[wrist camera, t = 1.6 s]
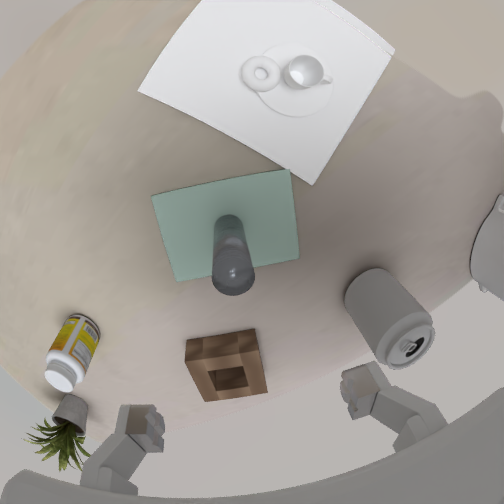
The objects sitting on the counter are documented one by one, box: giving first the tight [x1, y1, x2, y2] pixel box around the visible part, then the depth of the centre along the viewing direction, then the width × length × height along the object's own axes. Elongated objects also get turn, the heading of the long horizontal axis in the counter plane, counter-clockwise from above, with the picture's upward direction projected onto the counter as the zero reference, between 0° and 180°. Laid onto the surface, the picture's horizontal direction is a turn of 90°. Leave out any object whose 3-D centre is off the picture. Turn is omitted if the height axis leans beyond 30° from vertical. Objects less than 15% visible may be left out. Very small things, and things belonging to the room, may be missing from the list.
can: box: [344, 268, 435, 370], centre depth 29 cm, size 8×8×12 cm
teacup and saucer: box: [241, 42, 335, 118], centre depth 21 cm, size 9×8×4 cm
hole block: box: [185, 329, 268, 402], centre depth 35 cm, size 9×9×4 cm
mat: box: [151, 169, 300, 282], centre depth 29 cm, size 14×10×1 cm
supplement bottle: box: [45, 315, 100, 392], centre depth 28 cm, size 6×6×10 cm
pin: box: [212, 214, 255, 296], centre depth 24 cm, size 3×3×10 cm
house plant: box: [25, 394, 91, 471], centre depth 32 cm, size 14×14×16 cm
